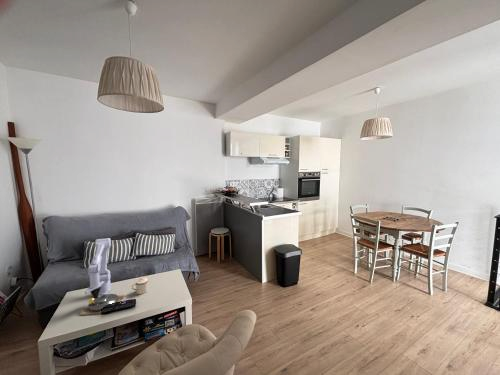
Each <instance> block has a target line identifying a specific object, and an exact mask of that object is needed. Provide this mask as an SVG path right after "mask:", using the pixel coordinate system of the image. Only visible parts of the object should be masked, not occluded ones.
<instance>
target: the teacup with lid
mask: <svg viewBox="0 0 500 375" xmlns="http://www.w3.org/2000/svg"><path fill="white" fill-rule="evenodd" d="M134 286H135V287H136V288H134ZM131 289H132V290H133V291H136V294H137V295H142V294H145V293H147V292H148V291H149V279H148V278H147V277H140V278H138V280H136V281H135V283H133V284H132V286H131Z"/></svg>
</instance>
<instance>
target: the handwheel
mask: <svg viewBox="0 0 500 375" xmlns="http://www.w3.org/2000/svg"><path fill="white" fill-rule="evenodd" d="M117 301H118V294H116V293H107V294H106V295H99V296H98V298H96V299H95V298H94V297H93V296H92V297H90V298H89V299H88V305H87V307H88V309H89V310H91V311H100V310H101V309H102V308H103V307H104V306H106V305H108V304H112V303H116V302H117Z"/></svg>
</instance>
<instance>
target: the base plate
mask: <svg viewBox="0 0 500 375" xmlns="http://www.w3.org/2000/svg"><path fill="white" fill-rule="evenodd" d="M117 296H118V301H117V302H119V301H120V302H122V300H123V299H124V298H125V297H126V296H125V294H121V295H120V294H119V295H118V294H117ZM89 315H102V314H101V312H100V311H91V310H89V309H88V306H87V307H86V308H84V309H83V311H81V312H80V313H79V316H80V317H81V316H89Z"/></svg>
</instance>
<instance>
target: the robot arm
mask: <svg viewBox="0 0 500 375" xmlns="http://www.w3.org/2000/svg"><path fill="white" fill-rule="evenodd" d="M94 246H95V248H96V250H95V255H94V256H93V257H92V260H91V263H90V265H89V266H88V268H87V273H88V276H89V287H88V288H87V289H86V290H85V291H84V294H85V295H89V293H90V294H91V295H92V297H94V299H96V298H98V297H99V296H103V295H107V294H109V292H111V290H112V289H113V287H112V284H111V271H110V270H109V269H107V268H108V266H107V264H108V251H109V249H110V248H111V246H112V240H111V238H110V237H106V238H96V239H95V242H94Z"/></svg>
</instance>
